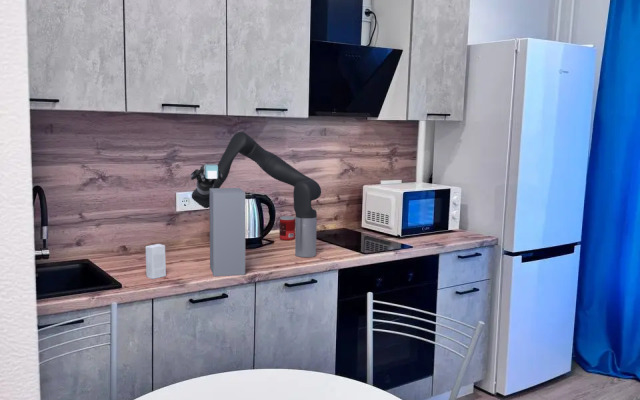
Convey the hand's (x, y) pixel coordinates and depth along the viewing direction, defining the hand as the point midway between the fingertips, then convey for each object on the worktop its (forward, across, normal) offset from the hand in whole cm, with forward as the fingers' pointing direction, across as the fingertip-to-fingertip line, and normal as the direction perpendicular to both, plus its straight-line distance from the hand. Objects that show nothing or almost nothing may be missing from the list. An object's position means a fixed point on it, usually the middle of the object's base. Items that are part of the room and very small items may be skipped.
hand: (208, 167), depth 250 cm
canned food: (-49, +42, +17) cm, 66 cm away
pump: (+3, 0, +5) cm, 6 cm away
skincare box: (+3, -22, +47) cm, 52 cm away
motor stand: (0, +5, +45) cm, 45 cm away
